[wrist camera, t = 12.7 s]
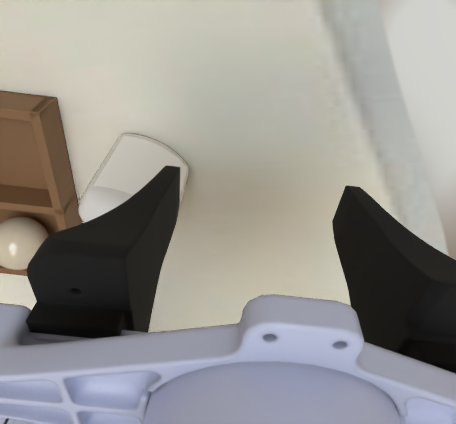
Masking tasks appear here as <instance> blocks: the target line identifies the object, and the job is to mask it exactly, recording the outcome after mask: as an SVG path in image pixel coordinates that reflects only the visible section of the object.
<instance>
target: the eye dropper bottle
mask: <svg viewBox="0 0 456 424" xmlns="http://www.w3.org/2000/svg"><path fill="white" fill-rule="evenodd" d="M166 165H167V166H176V167H180V205H181V201H182V197H183V193H184V189H185V185H186V181H187V177H188V173H189V168H188V165H187V164H186V162H185V161H184V160H183V159H182V158H181V157H180V156H179V155H178V154H177V153H176V152H174V151H173V150H172V149H170V148H169V147H167V146H166V145H164V144H162V143H160V142H158V141H156V140H154V139H151V138H148V137H145V136H141V135H137V134H129V133H127V134H122V135H121V136H120V137H119V138H118V139H117V141H116V142H115V144H114V145H113V147H112V148H111V150H110V152H109V153H108V155H107V156H106V158H105V159H104V161H103V163H102V164H101V166H100V167H99V169H98V170H97V172H96V174H95V175H94V177H93V178H92V180H91V182H90V183H89V185H88V187H87V188H86V190H85V192H84V194H83V197H82V199H81V202H80V204H79V207H78V212H79V215H80V217H81V219H82V220H83V221H84V222H88V221H90V220H92V219H95V218H97V217H99V216H101V215H103V214H105V213H107V212H109V211H110V210H112V209H114V208H116V207H117V206H119V205H121V204H122V203H124V202H125V201H127V200H128V199H129V198H131V197H132V196H133V195H134V194H136V193H137V192H138V191H139V190H141V189H142V188H143V187H144V186H145V185H146V184H147V183H148V182H149V181H151V180H152V179H153V178H154V177H155V176H156V175H157V174H158V173H159V172H160V171H161V170H162V168H163V167H165V166H166ZM180 205H179V208H180ZM178 212H179V210H178Z"/></svg>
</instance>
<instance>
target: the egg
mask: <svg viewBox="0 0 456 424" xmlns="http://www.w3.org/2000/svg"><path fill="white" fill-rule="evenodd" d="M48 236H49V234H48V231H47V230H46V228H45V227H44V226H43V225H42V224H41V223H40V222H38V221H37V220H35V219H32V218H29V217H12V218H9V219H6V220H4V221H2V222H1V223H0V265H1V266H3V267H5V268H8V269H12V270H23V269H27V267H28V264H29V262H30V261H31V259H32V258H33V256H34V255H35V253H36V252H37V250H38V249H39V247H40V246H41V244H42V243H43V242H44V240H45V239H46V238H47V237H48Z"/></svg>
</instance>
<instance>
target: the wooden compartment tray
mask: <svg viewBox="0 0 456 424" xmlns="http://www.w3.org/2000/svg"><path fill="white" fill-rule="evenodd" d="M12 217H29V218H32V219H35V220H37V221H38V222H40V223H41V224H42V225H43V226H44V227H45V228H46V230H47V231H48V234H51V233H55V232H58V231H61V230H65V229H68V228H71V227H74V226H77V225H80V224H82V222H81V217H80V215H79V212H78V202H77V197H76V192H75V187H74V182H73V177H72V172H71V167H70V162H69V157H68V152H67V147H66V142H65V137H64V132H63V127H62V122H61V117H60V113H59V108H58V103H57V98H56V97H48V96H40V95H31V94H23V93H15V92H7V91H0V223H1V222H2V221H4V220H6V219H9V218H12ZM0 273H6V274H15V275H25V276H28V275H27V269H23V270H12V269H8V268H5V267H3V266H1V265H0Z"/></svg>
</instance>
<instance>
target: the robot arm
mask: <svg viewBox="0 0 456 424" xmlns="http://www.w3.org/2000/svg"><path fill="white" fill-rule="evenodd" d="M179 205H180V167H176V166H167V165H166V166H165V167H163V168H162V170H161V171H160V172H159V173H158V174H157V175H156V176H155V177H154V178H153V179H152V180H151V181H149V182H148V183H147V184H146V185H145V186H144V187H143V188H142V189H141V190H139V191H138V192H137V193H136V194H134V195H133V196H132V197H131V198H129V199H128V200H127V201H125V202H124V203H122V204H121V205H119V206H117V207H116V208H114V209H112V210H110V211H109V212H107V213H105V214H103V215H101V216H99V217H97V218H95V219H92V220H90V221H88V222H85V223H82V224H80V225H77V226H74V227H71V228H68V229H65V230H61V231H58V232H55V233H51V234H49V236H48V237H47V238H46V239H45V240H44V242H43V243H42V244H41V246H40V247H39V249H38V250H37V252H36V253H35V255H34V256H33V258H32V259H31V261H30V262H29V264H28V267H27V275H28V279H29V282H30V284H31V287H32V289H33V292H34V295H35V297H36V300H37V303H36V304H35V306H34V308H33V309H32V311H31V310H30V309H29V308H27V307H25V306H21V305H13V304H3V303H0V424H456V260H454V259H452V258H450V257H449V256H447V255H445V254H443V253H442V252H440V251H438V250H437V249H435V248H433V247H432V246H430V245H429V244H427V243H426V242H424V241H423V240H421V239H420V238H418V237H417V236H416V235H414V234H413V233H412V232H410V231H409V230H408V229H406V228H405V227H404V226H403V225H401V224H400V223H399V222H398V221H397V220H395V219H394V218H393V217H392V216H391V215H390V214H389V213H388V212H386V211H385V210H384V209H383V208H382V207H381V206H380V205H379V204H378V203H377V202H376V201H375V200H374V199H373V198H372V197H370V196H369V195H368V194H367V193H366V192H365V191H364V190H363V189H361V188H360V187H354V186H346V187H345V189H344V192H343V195H342V197H341V200H340V203H339V205H338V208H337V211H336V213H335V216H334V218H333V221H332V223H333V232H334V239H335V244H336V248H337V251H338V255H339V258H340V262H341V265H342V268H343V272H344V275H345V279H346V282H347V286H348V290H349V296H350V302H351V306H350V305H348V304H344V303H341V302H338V301H332V300H323V299H313V298H303V297H294V296H284V295H275V294H274V295H261V296H259V297H257V298H254V299H252V300H250V301H249V302H248V303H247V305H246V306H245V308H244V309H243V313H242V318H241V320H240V322H239V323H238V324H229V325H219V326H210V327H200V328H191V329H181V330H172V331H162V332H153V333H148V329H149V323H150V318H151V313H152V308H153V303H154V298H155V293H156V289H157V284H158V279H159V275H160V270H161V267H162V263H163V260H164V257H165V254H166V252H167V249H168V246H169V243H170V240H171V237H172V234H173V231H174V228H175V225H176V221H177V216H178V210H179Z"/></svg>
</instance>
